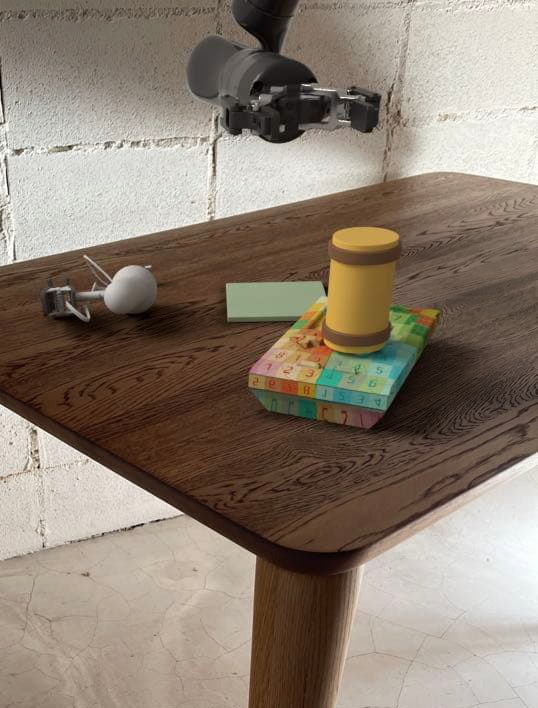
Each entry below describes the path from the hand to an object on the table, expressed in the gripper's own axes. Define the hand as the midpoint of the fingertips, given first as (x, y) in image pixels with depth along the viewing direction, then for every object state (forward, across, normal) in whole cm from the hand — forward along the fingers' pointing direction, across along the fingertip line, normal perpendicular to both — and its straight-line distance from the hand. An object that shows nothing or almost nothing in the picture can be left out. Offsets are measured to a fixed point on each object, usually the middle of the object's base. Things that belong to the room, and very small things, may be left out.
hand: (323, 123), depth 76 cm
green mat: (-12, 0, +20) cm, 24 cm away
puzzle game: (+9, +1, +20) cm, 22 cm away
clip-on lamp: (-15, -18, +21) cm, 31 cm away
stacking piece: (+12, 0, +15) cm, 19 cm away
